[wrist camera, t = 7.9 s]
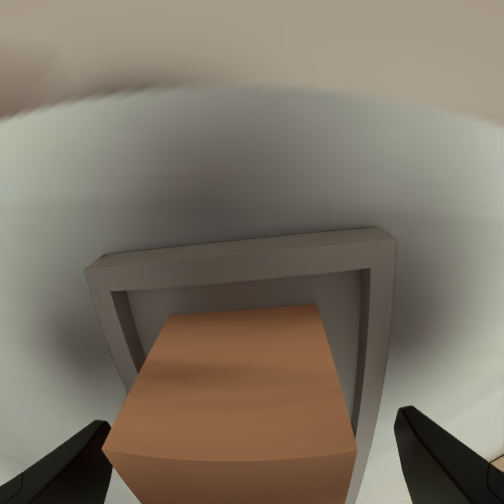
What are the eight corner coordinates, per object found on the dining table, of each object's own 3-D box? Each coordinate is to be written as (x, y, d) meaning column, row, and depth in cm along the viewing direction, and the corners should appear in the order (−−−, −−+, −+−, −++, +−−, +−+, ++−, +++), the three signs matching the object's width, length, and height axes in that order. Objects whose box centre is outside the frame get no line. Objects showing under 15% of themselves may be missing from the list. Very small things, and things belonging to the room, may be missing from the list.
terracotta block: (316, 408, 12) (335, 535, 6) (197, 414, 12) (170, 535, 7) (316, 303, 10) (357, 449, 5) (169, 314, 11) (101, 449, 5)
